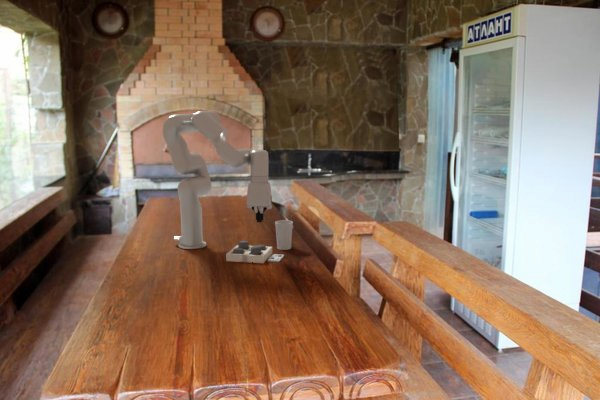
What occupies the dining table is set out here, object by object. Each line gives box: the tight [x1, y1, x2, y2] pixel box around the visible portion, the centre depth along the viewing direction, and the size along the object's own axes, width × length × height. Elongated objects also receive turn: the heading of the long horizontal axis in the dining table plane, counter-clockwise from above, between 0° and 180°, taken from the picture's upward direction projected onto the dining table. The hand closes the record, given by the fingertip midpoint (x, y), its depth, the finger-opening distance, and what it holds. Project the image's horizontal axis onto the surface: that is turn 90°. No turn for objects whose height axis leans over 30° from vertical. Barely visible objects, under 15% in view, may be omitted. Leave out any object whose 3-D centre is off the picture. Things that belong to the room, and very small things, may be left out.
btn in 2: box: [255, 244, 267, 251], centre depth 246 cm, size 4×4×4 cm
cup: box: [274, 219, 294, 251], centre depth 257 cm, size 8×8×12 cm
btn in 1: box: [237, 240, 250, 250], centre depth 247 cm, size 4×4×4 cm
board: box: [225, 244, 273, 264], centre depth 244 cm, size 16×15×3 cm
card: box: [267, 253, 285, 263], centre depth 241 cm, size 5×9×1 cm, turn 169°
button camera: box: [251, 245, 261, 255], centre depth 239 cm, size 4×4×4 cm
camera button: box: [232, 248, 244, 254], centre depth 241 cm, size 4×4×4 cm
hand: (259, 221), depth 244 cm, fingers closed
